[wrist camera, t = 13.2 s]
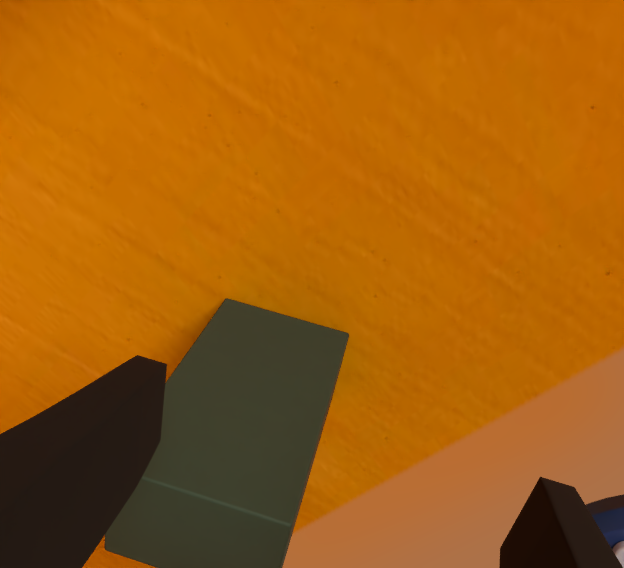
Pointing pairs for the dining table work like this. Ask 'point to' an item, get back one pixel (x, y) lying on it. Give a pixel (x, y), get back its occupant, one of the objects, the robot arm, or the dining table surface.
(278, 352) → the carton
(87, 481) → the robot arm
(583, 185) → the dining table surface
